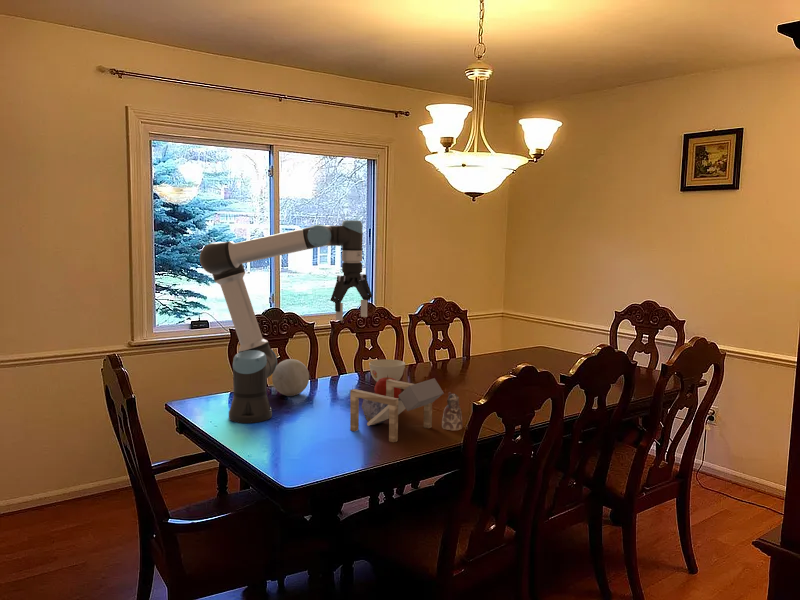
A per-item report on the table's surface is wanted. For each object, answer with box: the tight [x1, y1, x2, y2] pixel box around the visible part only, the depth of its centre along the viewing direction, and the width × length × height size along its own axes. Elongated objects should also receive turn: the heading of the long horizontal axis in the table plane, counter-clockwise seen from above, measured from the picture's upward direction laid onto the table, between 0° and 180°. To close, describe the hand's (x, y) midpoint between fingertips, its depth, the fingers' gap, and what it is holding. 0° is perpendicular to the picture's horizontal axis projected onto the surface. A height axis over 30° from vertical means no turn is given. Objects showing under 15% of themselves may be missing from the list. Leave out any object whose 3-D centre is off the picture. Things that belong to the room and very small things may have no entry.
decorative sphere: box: [271, 358, 310, 397], centre depth 255 cm, size 15×15×15 cm
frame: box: [349, 379, 433, 443], centre depth 213 cm, size 21×19×14 cm
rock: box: [361, 399, 388, 426], centre depth 219 cm, size 11×10×10 cm
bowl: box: [368, 358, 406, 382], centre depth 274 cm, size 16×16×10 cm
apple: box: [373, 375, 402, 398], centre depth 235 cm, size 10×10×14 cm
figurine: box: [441, 391, 463, 432], centre depth 216 cm, size 7×7×12 cm
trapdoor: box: [366, 377, 445, 427], centre depth 209 cm, size 16×23×6 cm
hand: (351, 318), depth 234 cm, fingers open, 13 cm apart
